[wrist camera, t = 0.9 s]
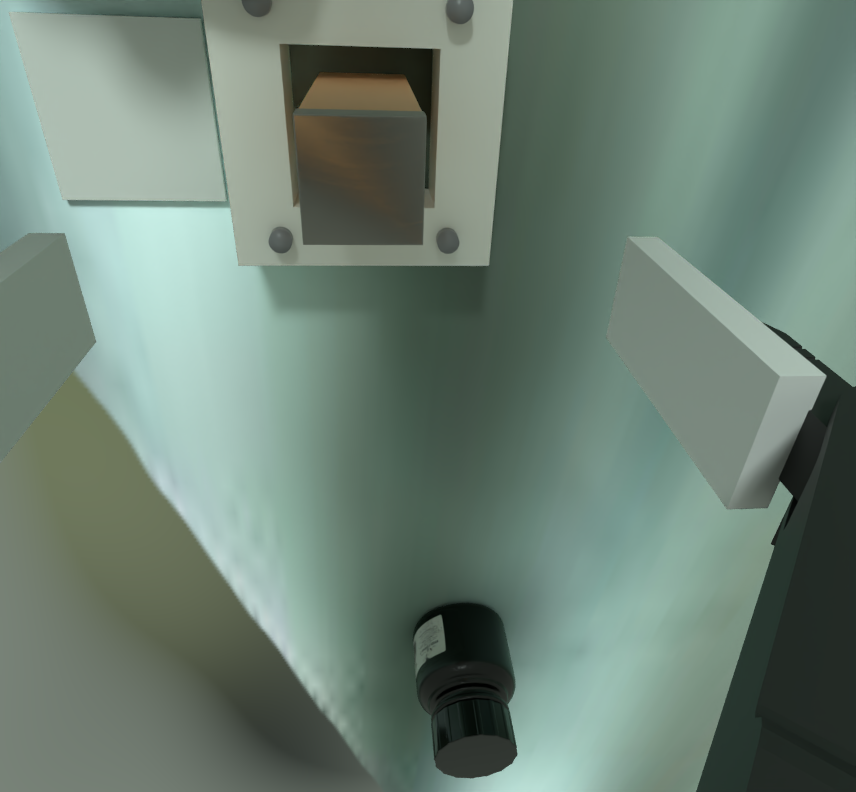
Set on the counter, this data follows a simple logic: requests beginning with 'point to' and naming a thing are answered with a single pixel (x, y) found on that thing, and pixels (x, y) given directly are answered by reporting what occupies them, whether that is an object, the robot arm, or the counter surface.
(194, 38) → the mat
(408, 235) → the plug
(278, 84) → the frame
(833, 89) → the counter surface
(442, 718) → the ink bottle
